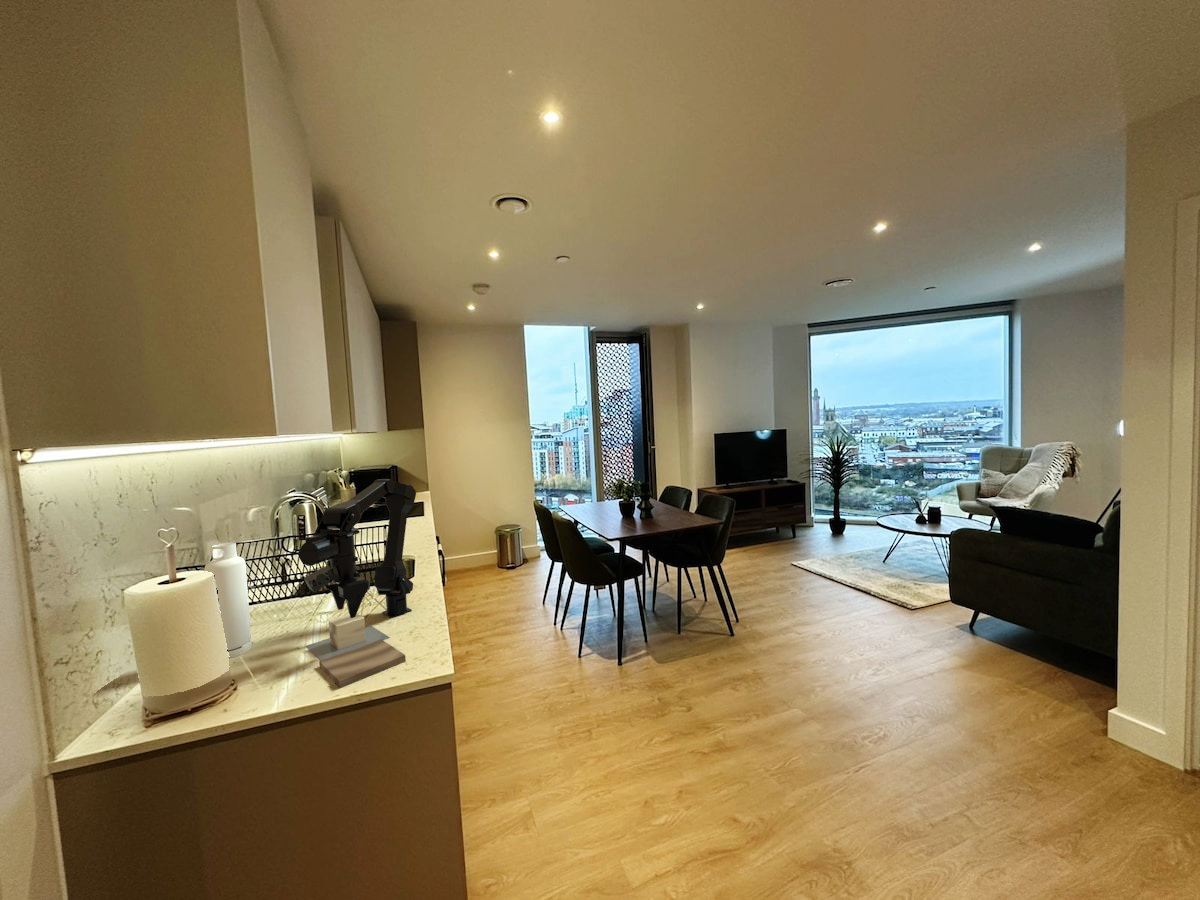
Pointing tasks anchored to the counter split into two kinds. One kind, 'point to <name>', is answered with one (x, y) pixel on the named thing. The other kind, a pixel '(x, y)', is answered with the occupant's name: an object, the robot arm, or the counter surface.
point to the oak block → (347, 631)
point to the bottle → (232, 596)
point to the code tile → (328, 650)
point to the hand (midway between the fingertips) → (346, 613)
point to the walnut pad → (361, 662)
